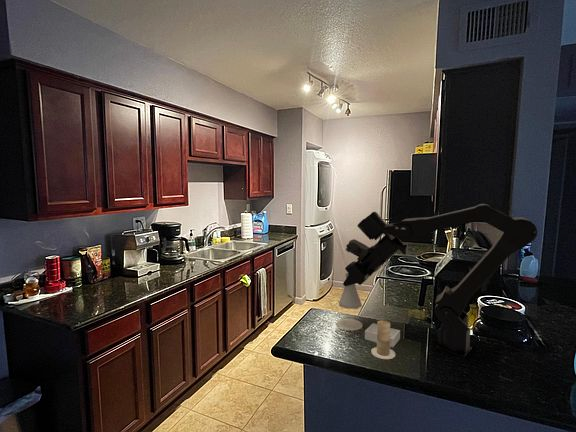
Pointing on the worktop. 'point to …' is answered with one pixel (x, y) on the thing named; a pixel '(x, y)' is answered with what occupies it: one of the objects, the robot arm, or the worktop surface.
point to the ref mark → (390, 356)
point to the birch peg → (383, 338)
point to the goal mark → (349, 324)
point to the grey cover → (372, 334)
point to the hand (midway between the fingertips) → (345, 283)
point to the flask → (350, 297)
